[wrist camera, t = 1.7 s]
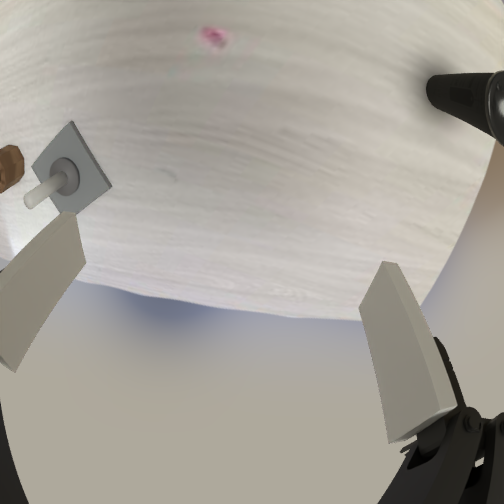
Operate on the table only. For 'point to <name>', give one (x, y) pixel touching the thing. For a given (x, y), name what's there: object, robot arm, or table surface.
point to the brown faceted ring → (10, 167)
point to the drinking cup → (471, 99)
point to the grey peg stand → (67, 174)
